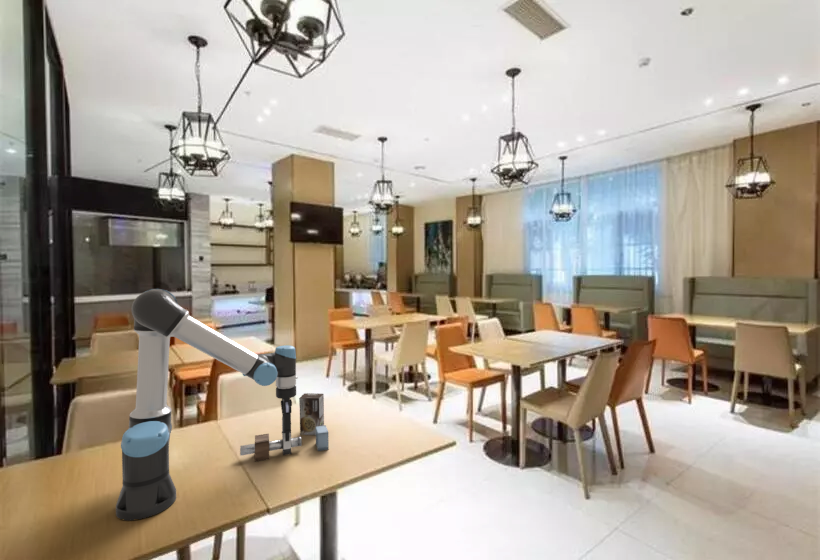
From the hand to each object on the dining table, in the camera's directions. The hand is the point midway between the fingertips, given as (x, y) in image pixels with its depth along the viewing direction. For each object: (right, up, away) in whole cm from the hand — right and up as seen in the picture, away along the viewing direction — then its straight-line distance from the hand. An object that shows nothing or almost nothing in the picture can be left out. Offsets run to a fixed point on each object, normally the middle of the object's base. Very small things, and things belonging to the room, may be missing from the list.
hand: (286, 445), depth 150 cm
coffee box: (+5, -2, +19) cm, 20 cm away
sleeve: (-8, -3, -3) cm, 9 cm away
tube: (-5, -3, -2) cm, 6 cm away
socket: (+13, -3, +5) cm, 14 cm away
